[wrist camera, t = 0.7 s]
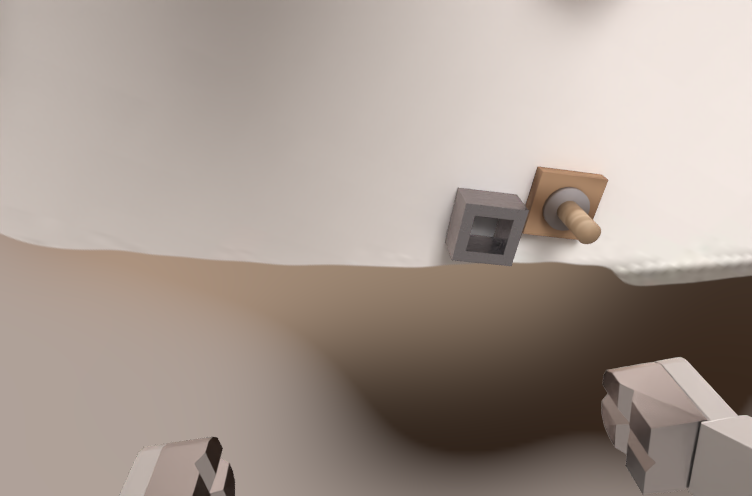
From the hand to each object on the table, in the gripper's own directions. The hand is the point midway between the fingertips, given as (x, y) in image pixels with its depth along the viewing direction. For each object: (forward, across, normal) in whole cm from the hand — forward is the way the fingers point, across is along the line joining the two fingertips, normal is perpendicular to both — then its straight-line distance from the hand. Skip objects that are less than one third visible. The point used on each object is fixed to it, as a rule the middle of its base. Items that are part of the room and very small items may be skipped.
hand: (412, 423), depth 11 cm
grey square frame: (+41, -10, +16) cm, 46 cm away
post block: (+41, -19, +16) cm, 48 cm away
